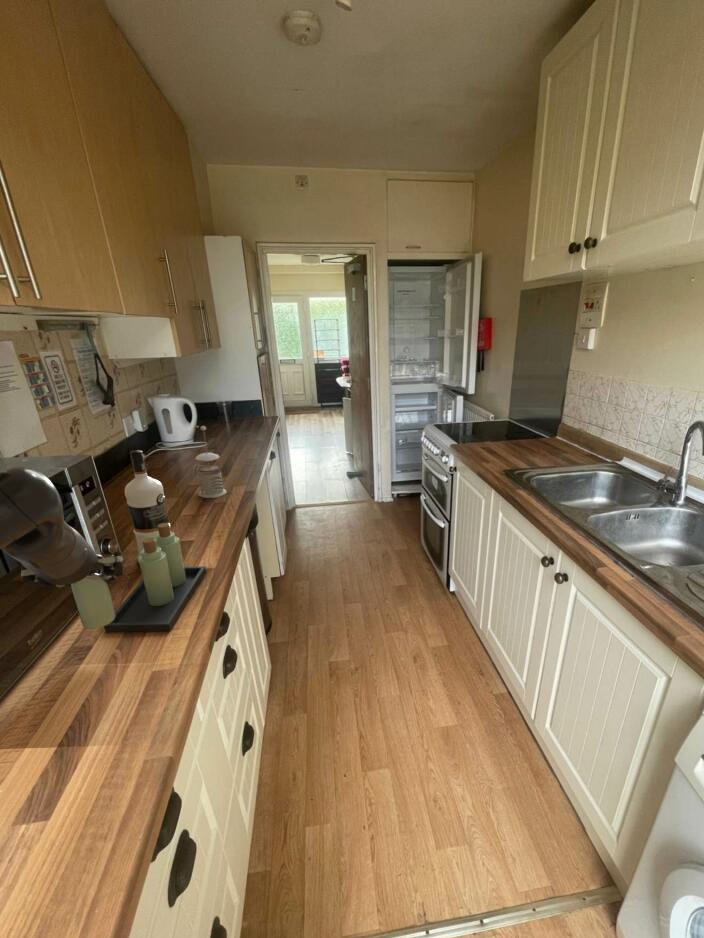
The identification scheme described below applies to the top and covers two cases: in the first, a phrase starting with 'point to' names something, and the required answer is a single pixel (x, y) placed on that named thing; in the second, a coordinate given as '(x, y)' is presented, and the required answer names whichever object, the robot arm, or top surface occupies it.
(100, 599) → the bottle loose
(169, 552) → the bottle back
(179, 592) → the tray
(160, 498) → the vodka
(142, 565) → the bottle mid
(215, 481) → the french press
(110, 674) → the top surface
